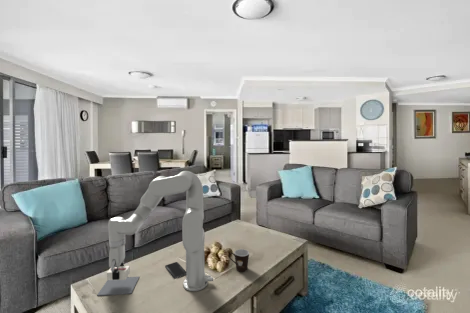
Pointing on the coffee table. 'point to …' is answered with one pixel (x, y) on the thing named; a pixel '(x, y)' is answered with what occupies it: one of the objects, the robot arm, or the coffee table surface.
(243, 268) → the coffee mug
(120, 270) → the card box
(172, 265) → the phone
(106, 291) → the mat
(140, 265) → the coffee table surface
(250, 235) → the coffee table surface
